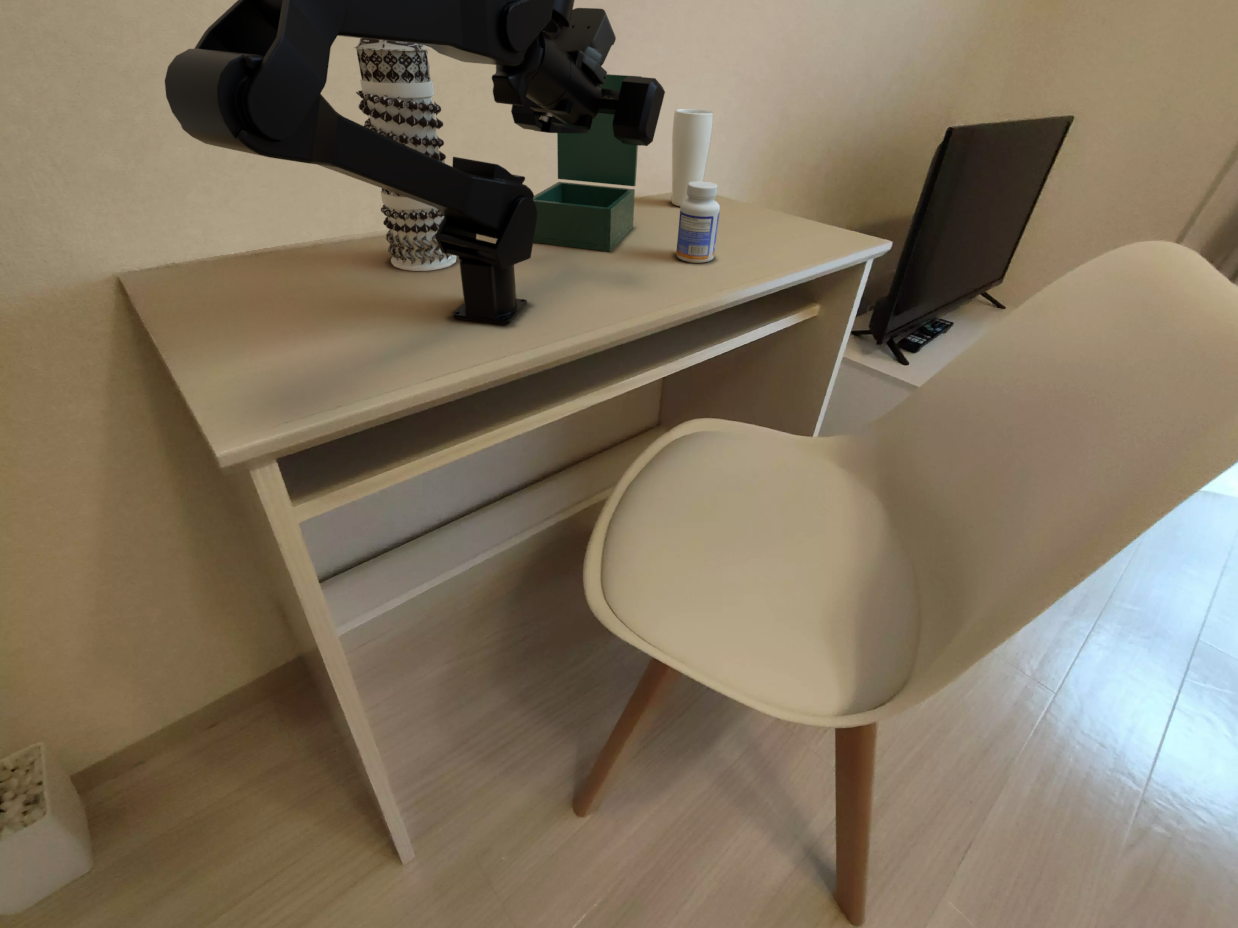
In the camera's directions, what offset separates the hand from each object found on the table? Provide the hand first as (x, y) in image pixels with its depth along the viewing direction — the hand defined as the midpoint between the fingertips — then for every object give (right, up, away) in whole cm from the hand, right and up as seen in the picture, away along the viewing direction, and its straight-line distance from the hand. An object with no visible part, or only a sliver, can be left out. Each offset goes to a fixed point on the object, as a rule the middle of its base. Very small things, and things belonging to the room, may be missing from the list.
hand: (618, 132), depth 77 cm
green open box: (-5, -6, +17) cm, 19 cm away
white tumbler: (+12, +6, +35) cm, 38 cm away
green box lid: (-3, +8, +14) cm, 17 cm away
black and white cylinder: (-26, -15, +5) cm, 30 cm away
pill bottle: (+11, -13, +10) cm, 19 cm away
